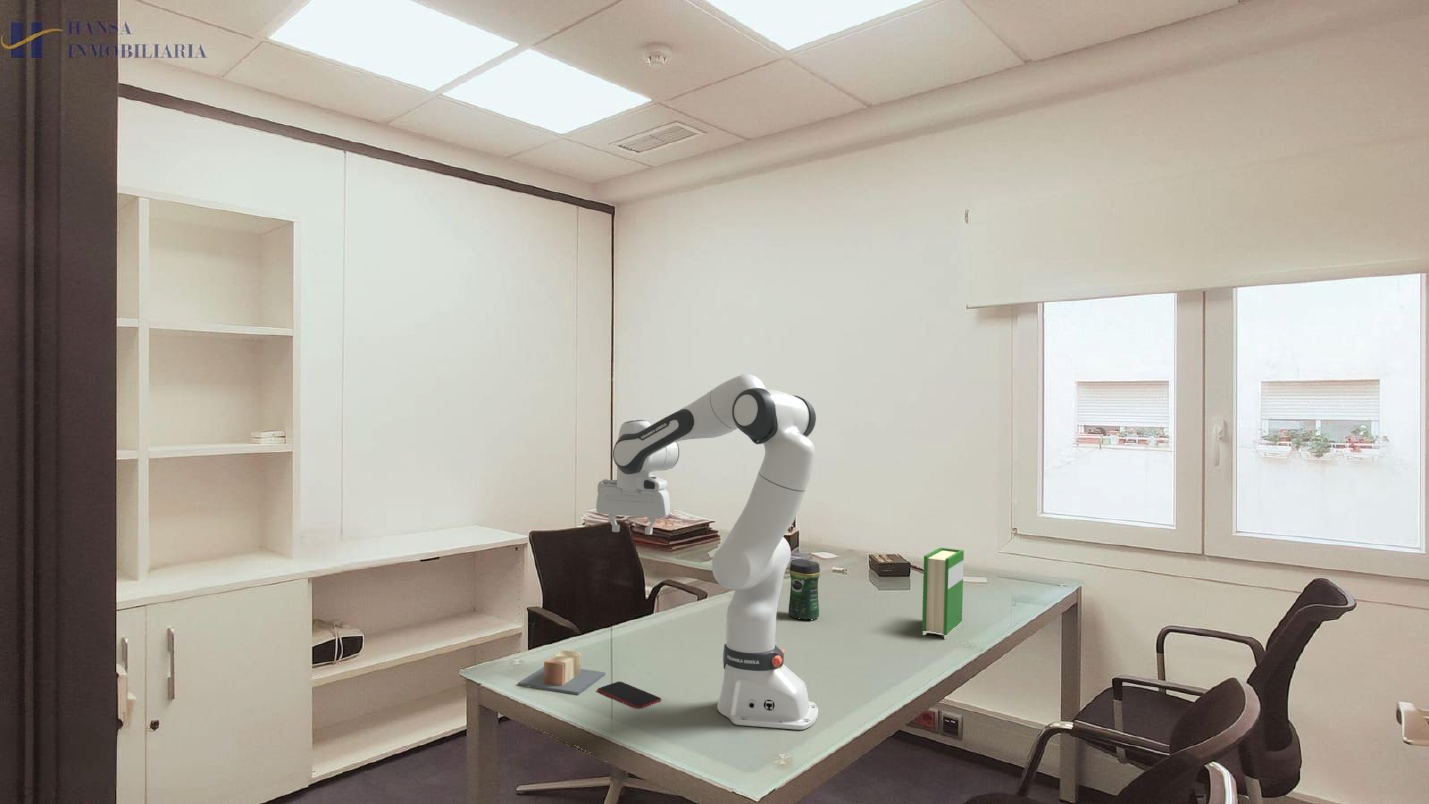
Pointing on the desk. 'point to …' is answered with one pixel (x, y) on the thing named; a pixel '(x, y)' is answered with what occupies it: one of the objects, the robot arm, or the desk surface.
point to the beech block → (562, 667)
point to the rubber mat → (571, 687)
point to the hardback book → (942, 590)
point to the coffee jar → (804, 589)
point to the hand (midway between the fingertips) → (632, 532)
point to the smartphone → (629, 694)
